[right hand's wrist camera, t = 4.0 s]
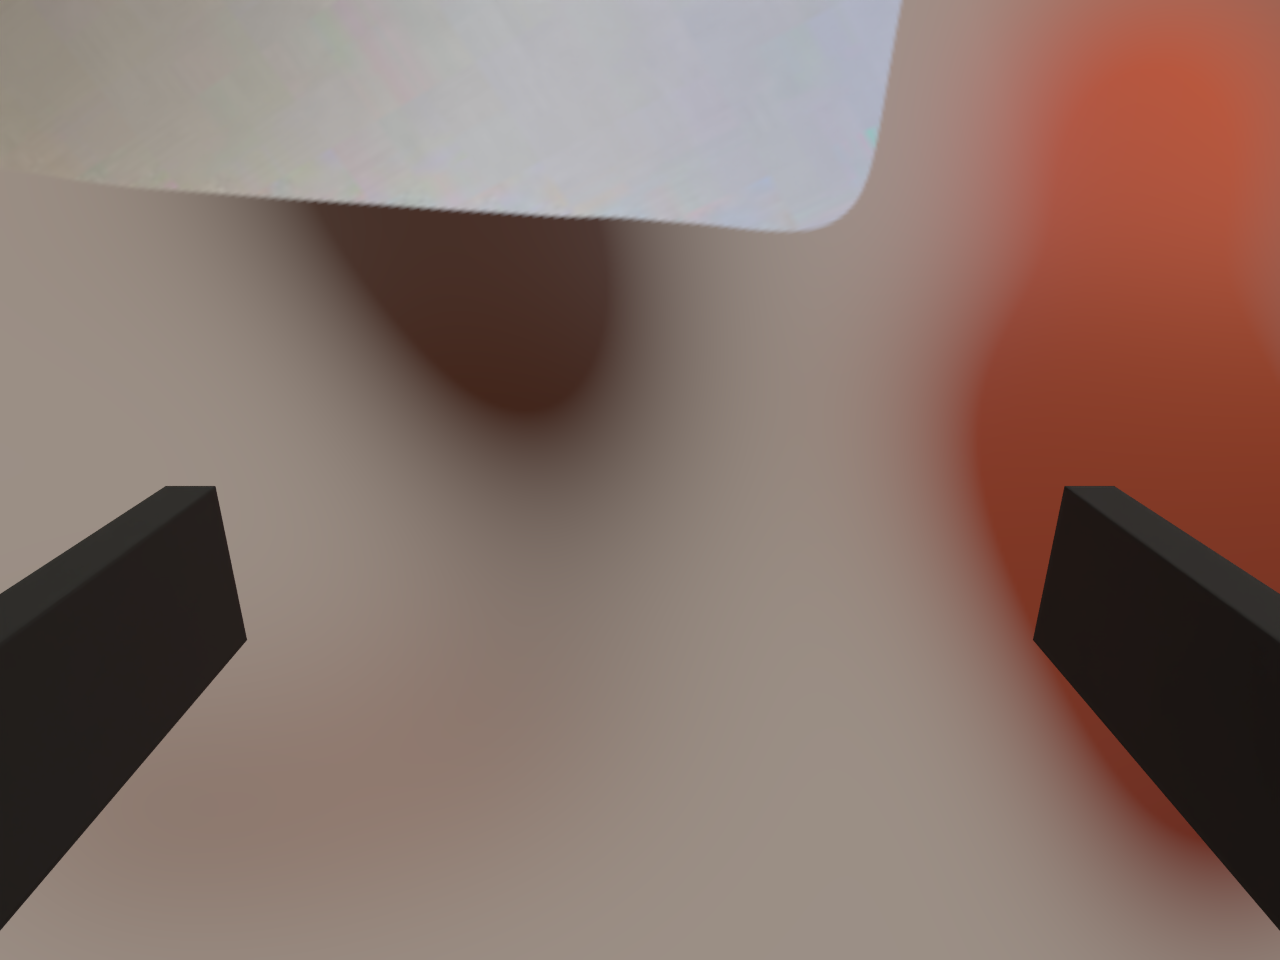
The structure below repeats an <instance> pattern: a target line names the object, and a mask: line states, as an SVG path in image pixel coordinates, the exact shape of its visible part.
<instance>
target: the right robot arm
mask: <svg viewBox="0 0 1280 960" xmlns="http://www.w3.org/2000/svg"><path fill="white" fill-rule="evenodd" d="M246 640H247V638H246V633H245V628H244V623H243V618H242V613H241V609H240V604H239V599H238V594H237V589H236V584H235V580H234V575H233V570H232V565H231V560H230V555H229V550H228V545H227V540H226V536H225V531H224V526H223V521H222V516H221V511H220V506H219V501H218V497H217V492H216V487H215V486H165V487H164V488H162V489H161V490H159V491H158V492H156V493H155V494H153V495H151V496H150V497H148V498H147V499H145V500H144V501H142V502H141V503H139V504H138V505H136V506H135V507H133V508H132V509H130V510H128V511H127V512H125V513H124V514H122V515H121V516H119V517H118V518H116V519H115V520H113V521H112V522H110V523H109V524H107V525H105V526H104V527H102V528H101V529H99V530H98V531H96V532H95V533H93V534H92V535H90V536H89V537H87V538H86V539H84V540H82V541H81V542H79V543H78V544H76V545H75V546H73V547H72V548H70V549H69V550H67V551H66V552H64V553H63V554H61V555H59V556H58V557H56V558H55V559H53V560H52V561H50V562H49V563H47V564H46V565H44V566H43V567H41V568H39V569H38V570H36V571H35V572H33V573H32V574H30V575H29V576H27V577H26V578H24V579H23V580H21V581H20V582H18V583H16V584H15V585H13V586H12V587H10V588H9V589H7V590H6V591H4V592H3V593H1V594H0V930H1V929H2V928H3V927H4V925H5V924H6V923H7V922H8V921H9V920H10V918H11V917H12V916H13V915H14V914H15V912H16V911H17V910H18V909H19V908H20V907H21V905H22V904H23V903H24V902H25V901H26V900H27V898H28V897H29V896H30V895H31V894H32V892H33V891H34V890H35V889H36V888H37V887H38V885H39V884H40V883H41V882H42V881H43V879H44V878H45V877H46V876H47V875H48V874H49V872H50V871H51V870H52V869H53V868H54V867H55V865H56V864H57V863H58V862H59V861H60V859H61V858H62V857H63V856H64V855H65V854H66V852H67V851H68V850H69V849H70V848H71V847H72V845H73V844H74V843H75V842H76V841H77V839H78V838H79V837H80V836H81V835H82V834H83V832H84V831H85V830H86V829H87V828H88V826H89V825H90V824H91V823H92V822H93V821H94V819H95V818H96V817H97V816H98V815H99V814H100V812H101V811H102V810H103V809H104V808H105V806H106V805H107V804H108V803H109V802H110V801H111V799H112V798H113V797H114V796H115V795H116V794H117V792H118V791H119V790H120V789H121V788H122V786H123V785H124V784H125V783H126V782H127V781H128V779H129V778H130V777H131V776H132V775H133V774H134V772H135V771H136V770H137V769H138V768H139V766H140V765H141V764H142V763H143V762H144V761H145V759H146V758H147V757H148V756H149V755H150V753H151V752H152V751H153V750H154V749H155V748H156V746H157V745H158V744H159V743H160V742H161V741H162V739H163V738H164V737H165V736H166V735H167V733H168V732H169V731H170V730H171V729H172V728H173V726H174V725H175V724H176V723H177V722H178V720H179V719H180V718H181V717H182V716H183V715H184V713H185V712H186V711H187V710H188V709H189V708H190V706H191V705H192V704H193V703H194V702H195V700H196V699H197V698H198V697H199V696H200V695H201V693H202V692H203V691H204V690H205V689H206V688H207V686H208V685H209V684H210V683H211V682H212V680H213V679H214V678H215V677H216V676H217V675H218V673H219V672H220V671H221V670H222V669H223V668H224V666H225V665H226V664H227V663H228V662H229V660H230V659H231V658H232V657H233V656H234V655H235V653H236V652H237V651H238V650H239V649H240V648H241V646H242V645H243V644H244V643H245V642H246ZM1033 640H1034V642H1035V643H1036V644H1037V645H1038V646H1039V647H1040V649H1041V650H1042V651H1043V652H1044V653H1045V655H1046V656H1047V657H1048V658H1049V659H1050V660H1051V662H1052V663H1053V664H1054V665H1055V666H1056V668H1057V669H1058V670H1059V671H1060V672H1061V673H1062V675H1063V676H1064V677H1065V678H1066V679H1067V680H1068V682H1069V683H1070V684H1071V685H1072V686H1073V688H1074V689H1075V690H1076V691H1077V692H1078V693H1079V695H1080V696H1081V697H1082V698H1083V699H1084V701H1085V702H1086V703H1087V704H1088V705H1089V706H1090V708H1091V709H1092V710H1093V711H1094V712H1095V713H1096V715H1097V716H1098V717H1099V718H1100V719H1101V720H1102V722H1103V723H1104V724H1105V725H1106V726H1107V728H1108V729H1109V730H1110V731H1111V732H1112V733H1113V735H1114V736H1115V737H1116V738H1117V739H1118V741H1119V742H1120V743H1121V744H1122V745H1123V746H1124V748H1125V749H1126V750H1127V751H1128V752H1129V753H1130V755H1131V756H1132V757H1133V758H1134V759H1135V761H1136V762H1137V763H1138V764H1139V765H1140V766H1141V768H1142V769H1143V770H1144V771H1145V772H1146V774H1147V775H1148V776H1149V777H1150V778H1151V779H1152V781H1153V782H1154V783H1155V784H1156V785H1157V786H1158V788H1159V789H1160V790H1161V791H1162V792H1163V794H1164V795H1165V796H1166V797H1167V798H1168V799H1169V801H1170V802H1171V803H1172V804H1173V805H1174V806H1175V808H1176V809H1177V810H1178V811H1179V812H1180V814H1181V815H1182V816H1183V817H1184V818H1185V819H1186V821H1187V822H1188V823H1189V824H1190V825H1191V827H1192V828H1193V829H1194V830H1195V831H1196V832H1197V834H1198V835H1199V836H1200V837H1201V838H1202V839H1203V841H1204V842H1205V843H1206V844H1207V845H1208V847H1209V848H1210V849H1211V850H1212V851H1213V852H1214V854H1215V855H1216V856H1217V857H1218V858H1219V859H1220V861H1221V862H1222V863H1223V864H1224V865H1225V866H1226V868H1227V869H1228V870H1229V871H1230V872H1231V874H1232V875H1233V876H1234V877H1235V878H1236V879H1237V881H1238V882H1239V883H1240V884H1241V885H1242V887H1243V888H1244V889H1245V890H1246V891H1247V892H1248V894H1249V895H1250V896H1251V897H1252V898H1253V899H1254V901H1255V902H1256V903H1257V904H1258V905H1259V907H1260V908H1261V909H1262V910H1263V911H1264V912H1265V914H1266V915H1267V916H1268V917H1269V918H1270V920H1271V921H1272V922H1273V923H1274V924H1275V925H1276V927H1277V928H1278V929H1279V930H1280V594H1279V593H1277V592H1276V591H1274V590H1273V589H1271V588H1270V587H1268V586H1267V585H1265V584H1264V583H1262V582H1260V581H1259V580H1257V579H1256V578H1254V577H1253V576H1251V575H1250V574H1248V573H1247V572H1245V571H1244V570H1242V569H1241V568H1239V567H1237V566H1236V565H1234V564H1233V563H1231V562H1230V561H1228V560H1227V559H1225V558H1224V557H1222V556H1221V555H1219V554H1217V553H1216V552H1214V551H1213V550H1211V549H1210V548H1208V547H1207V546H1205V545H1204V544H1202V543H1201V542H1199V541H1198V540H1196V539H1194V538H1193V537H1191V536H1190V535H1188V534H1187V533H1185V532H1184V531H1182V530H1181V529H1179V528H1178V527H1176V526H1175V525H1173V524H1171V523H1170V522H1168V521H1167V520H1165V519H1164V518H1162V517H1161V516H1159V515H1158V514H1156V513H1155V512H1153V511H1152V510H1150V509H1148V508H1147V507H1145V506H1144V505H1142V504H1141V503H1139V502H1138V501H1136V500H1135V499H1133V498H1132V497H1130V496H1129V495H1127V494H1125V493H1124V492H1122V491H1121V490H1119V489H1118V488H1116V487H1115V486H1065V487H1064V492H1063V497H1062V502H1061V506H1060V511H1059V516H1058V521H1057V526H1056V531H1055V536H1054V540H1053V545H1052V550H1051V555H1050V560H1049V565H1048V570H1047V575H1046V579H1045V584H1044V589H1043V594H1042V599H1041V604H1040V609H1039V614H1038V618H1037V624H1036V628H1035V633H1034V638H1033Z"/></svg>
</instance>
